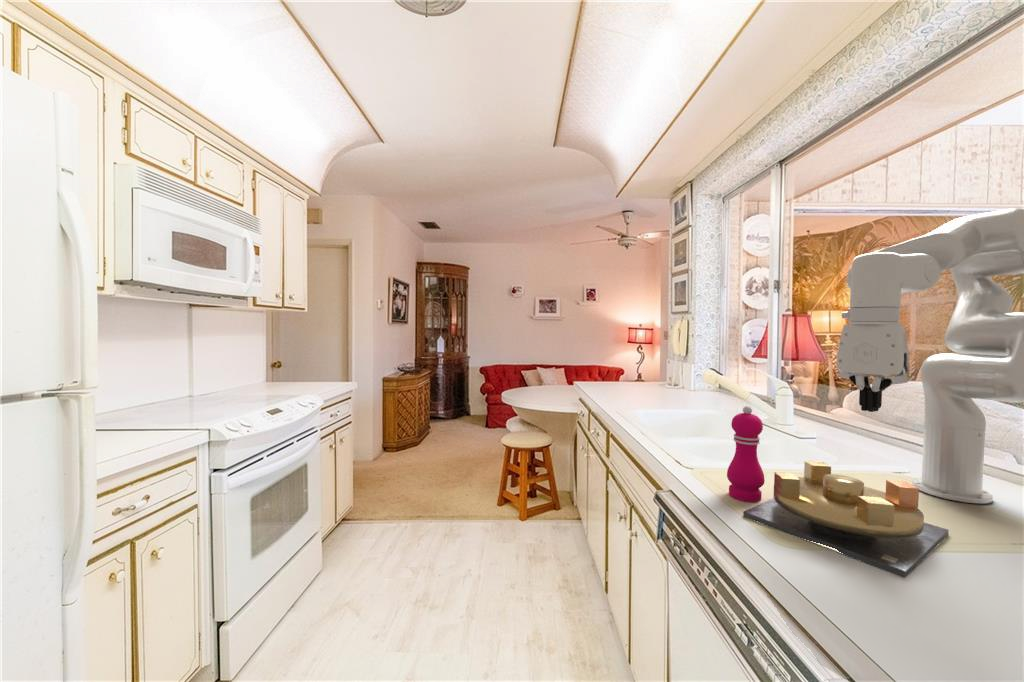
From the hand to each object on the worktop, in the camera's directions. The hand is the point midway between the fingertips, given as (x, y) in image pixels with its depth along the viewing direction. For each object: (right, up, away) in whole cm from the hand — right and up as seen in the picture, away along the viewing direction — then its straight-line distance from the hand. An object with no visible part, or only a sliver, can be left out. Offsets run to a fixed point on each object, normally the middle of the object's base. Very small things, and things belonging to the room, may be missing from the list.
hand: (869, 410), depth 83 cm
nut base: (-8, -21, -4) cm, 23 cm away
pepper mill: (-19, -21, +9) cm, 30 cm away
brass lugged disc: (-8, -18, -4) cm, 20 cm away
